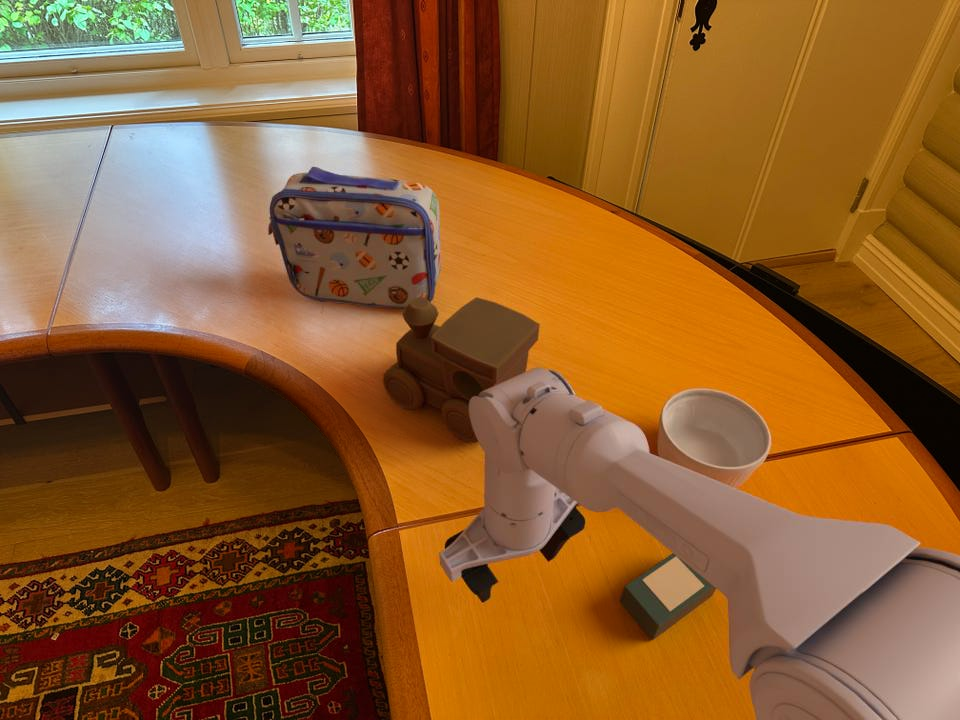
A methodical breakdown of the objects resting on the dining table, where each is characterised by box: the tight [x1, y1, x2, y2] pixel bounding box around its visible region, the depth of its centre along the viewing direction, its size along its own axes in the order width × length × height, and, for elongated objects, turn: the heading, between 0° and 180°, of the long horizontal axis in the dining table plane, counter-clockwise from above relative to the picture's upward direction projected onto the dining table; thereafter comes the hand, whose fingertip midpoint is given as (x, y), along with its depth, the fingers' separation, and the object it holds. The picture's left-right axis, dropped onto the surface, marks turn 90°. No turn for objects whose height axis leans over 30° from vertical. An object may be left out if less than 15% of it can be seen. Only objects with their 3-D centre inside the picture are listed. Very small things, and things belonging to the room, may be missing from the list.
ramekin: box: [656, 387, 772, 489], centre depth 77 cm, size 13×13×7 cm
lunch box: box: [267, 166, 442, 310], centre depth 98 cm, size 28×10×22 cm, turn 82°
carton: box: [619, 552, 717, 641], centre depth 64 cm, size 9×5×4 cm, turn 123°
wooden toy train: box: [382, 296, 540, 444], centre depth 81 cm, size 20×11×17 cm, turn 55°
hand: (513, 572), depth 59 cm, fingers open, 7 cm apart
